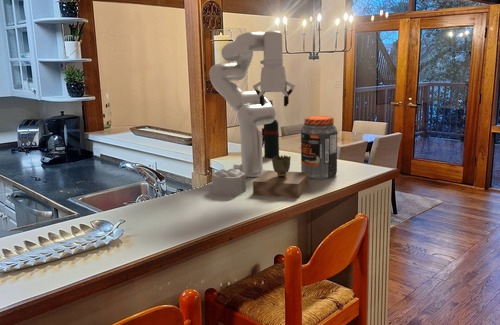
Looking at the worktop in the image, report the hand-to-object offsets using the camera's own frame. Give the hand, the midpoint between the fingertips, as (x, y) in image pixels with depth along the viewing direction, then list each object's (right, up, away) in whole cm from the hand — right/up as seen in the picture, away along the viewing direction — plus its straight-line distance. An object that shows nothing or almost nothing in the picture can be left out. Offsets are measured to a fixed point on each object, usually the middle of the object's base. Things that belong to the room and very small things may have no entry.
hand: (274, 106), depth 187 cm
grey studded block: (-19, -35, -4) cm, 40 cm away
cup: (+3, -29, -6) cm, 30 cm away
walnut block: (+3, -35, -4) cm, 35 cm away
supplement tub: (+21, -29, +16) cm, 39 cm away
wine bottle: (+1, -20, +59) cm, 63 cm away
